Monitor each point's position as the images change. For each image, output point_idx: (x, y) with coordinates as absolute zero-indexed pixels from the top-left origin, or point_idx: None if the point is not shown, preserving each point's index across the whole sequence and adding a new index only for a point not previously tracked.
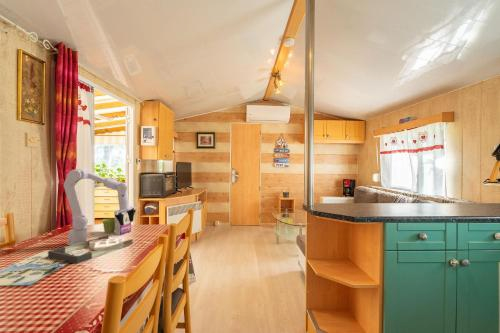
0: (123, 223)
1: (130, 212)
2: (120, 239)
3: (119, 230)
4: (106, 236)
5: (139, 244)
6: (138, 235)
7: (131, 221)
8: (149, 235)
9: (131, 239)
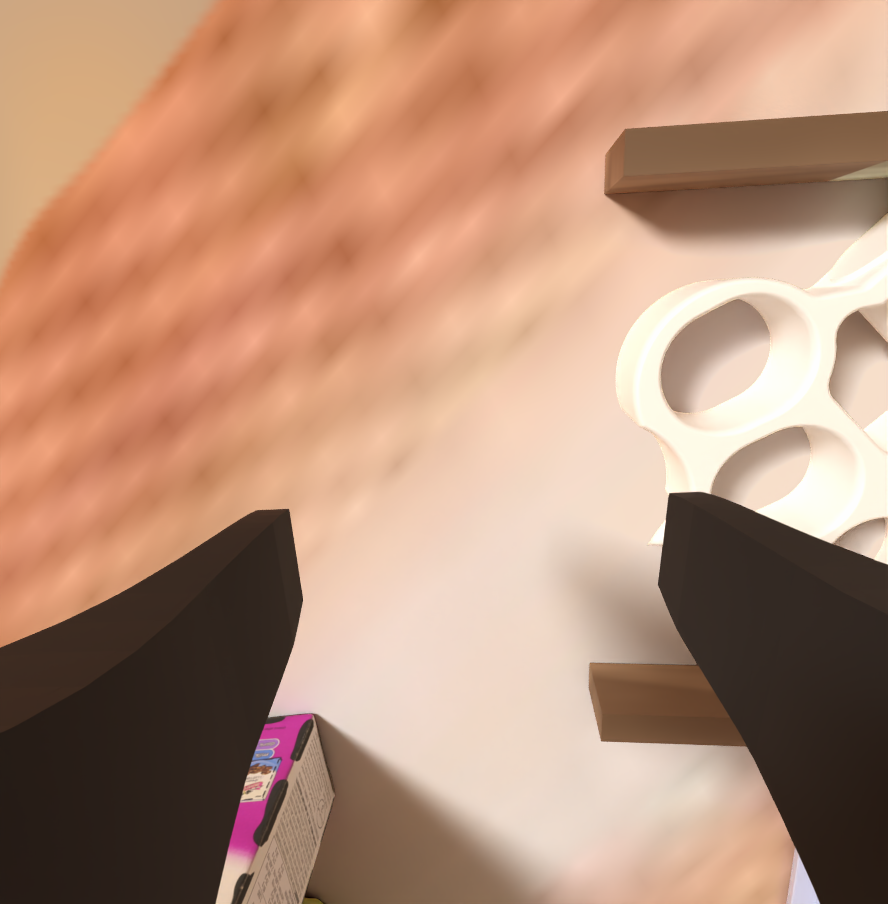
0: (707, 504)
1: (125, 881)
2: (665, 401)
3: (296, 787)
4: (644, 712)
5: (549, 38)
6: (164, 497)
7: (293, 545)
8: (57, 343)
9: (638, 152)
